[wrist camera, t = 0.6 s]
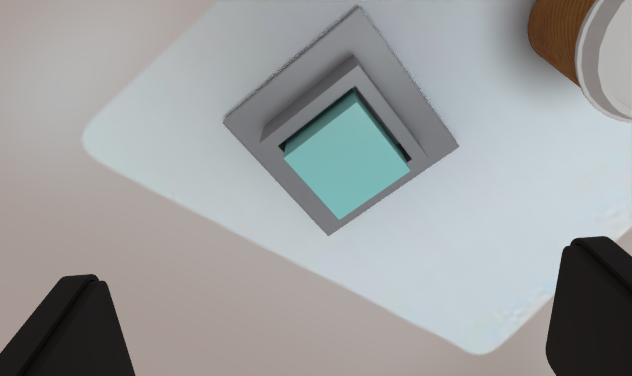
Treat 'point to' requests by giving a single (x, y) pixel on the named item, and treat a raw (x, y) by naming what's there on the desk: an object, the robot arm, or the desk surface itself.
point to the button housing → (325, 88)
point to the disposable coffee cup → (589, 48)
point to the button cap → (345, 155)
